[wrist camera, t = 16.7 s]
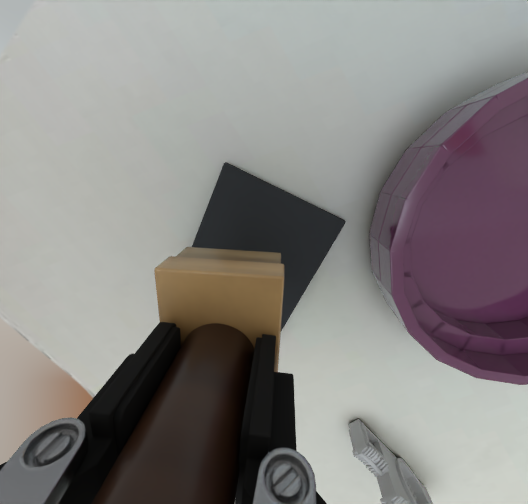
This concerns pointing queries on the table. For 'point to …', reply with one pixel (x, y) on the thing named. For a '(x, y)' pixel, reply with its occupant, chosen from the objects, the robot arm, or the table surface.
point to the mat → (269, 228)
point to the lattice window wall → (387, 468)
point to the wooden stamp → (200, 379)
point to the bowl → (462, 236)
